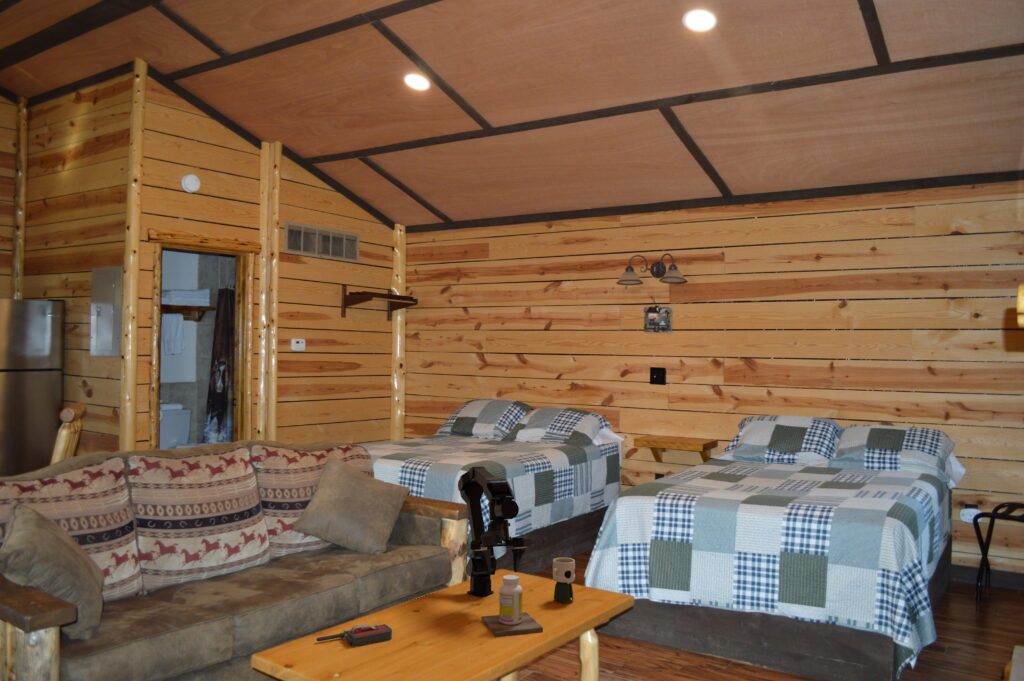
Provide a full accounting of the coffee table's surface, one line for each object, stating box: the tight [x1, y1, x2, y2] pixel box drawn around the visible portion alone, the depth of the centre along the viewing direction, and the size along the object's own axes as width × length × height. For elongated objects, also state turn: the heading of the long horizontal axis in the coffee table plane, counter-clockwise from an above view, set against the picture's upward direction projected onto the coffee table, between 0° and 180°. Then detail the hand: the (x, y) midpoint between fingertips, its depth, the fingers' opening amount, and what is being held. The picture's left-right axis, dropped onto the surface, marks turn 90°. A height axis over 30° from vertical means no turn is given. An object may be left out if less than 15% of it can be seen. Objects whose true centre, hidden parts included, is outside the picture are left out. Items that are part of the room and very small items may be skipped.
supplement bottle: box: [498, 574, 523, 625], centre depth 230 cm, size 7×7×13 cm
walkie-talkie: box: [316, 622, 393, 648], centre depth 217 cm, size 9×4×20 cm
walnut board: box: [480, 611, 544, 638], centre depth 229 cm, size 14×14×1 cm
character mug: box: [552, 556, 576, 603], centre depth 254 cm, size 11×7×13 cm, turn 140°
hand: (502, 572), depth 242 cm, fingers open, 9 cm apart
